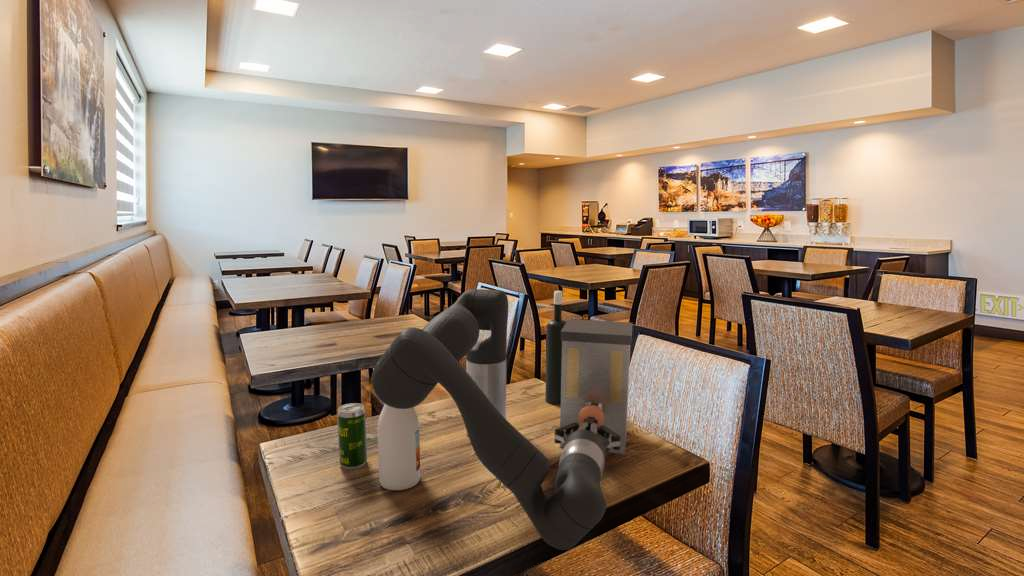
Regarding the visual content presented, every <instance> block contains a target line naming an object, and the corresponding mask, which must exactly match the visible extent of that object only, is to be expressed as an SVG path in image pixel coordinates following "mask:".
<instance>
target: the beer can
mask: <svg viewBox="0 0 1024 576" xmlns="http://www.w3.org/2000/svg"><path fill="white" fill-rule="evenodd" d="M337 410H338V412H337V417H336V418H337V436H338V437H337V438H338V452H339V453H338V456H339V457H338V459H339V460H338V461H339V464H340V467H341V468H343V469H344V470H349V471H350V470H357V469H359V468H360V469H361V468H362V467H364V466H365V465H366V463H367V460H368V450H367V449H368V448H367V424H366V423H367V422H366V421H367V420H366V409H365V406H364V405H363V403H357V402H356V403H355V402H353V403H352V402H351V403H345V404H343V405H340V406H339V407H338V409H337Z"/></svg>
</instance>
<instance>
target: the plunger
mask: <svg viewBox="0 0 1024 576" xmlns="http://www.w3.org/2000/svg"><path fill="white" fill-rule="evenodd" d="M598 404H599V403H591V405H586V406H584V407H583V408H582V409H581V410H580V413H579V416H578V423H579V425H582V423H583V420H584V419H585V418H586V419H587V417H588V416H589V417H595V419H596V420H598V427H600V426H601V425H603V423H604V413H603V411H602V410H601V409H600V408H599V407H598Z"/></svg>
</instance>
